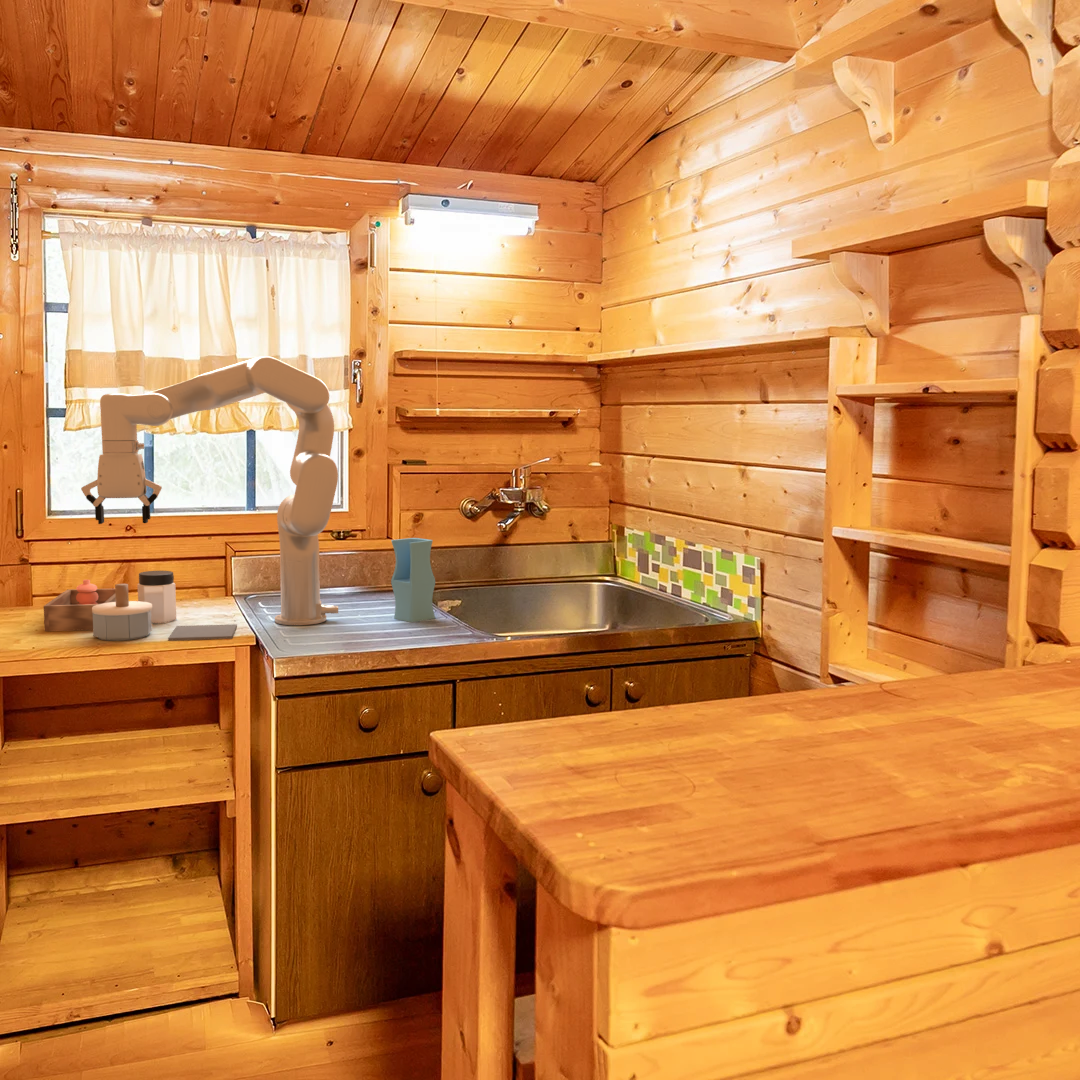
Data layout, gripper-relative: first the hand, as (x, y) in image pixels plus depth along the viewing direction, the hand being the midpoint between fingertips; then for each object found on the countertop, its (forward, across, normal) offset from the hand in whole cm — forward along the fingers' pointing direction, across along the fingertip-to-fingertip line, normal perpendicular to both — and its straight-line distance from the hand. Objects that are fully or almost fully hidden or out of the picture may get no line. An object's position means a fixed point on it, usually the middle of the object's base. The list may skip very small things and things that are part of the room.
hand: (123, 523), depth 252 cm
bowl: (+26, +1, 0) cm, 26 cm away
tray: (+26, +13, -20) cm, 35 cm away
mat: (+26, -17, 0) cm, 31 cm away
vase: (+27, -67, -11) cm, 73 cm away
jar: (+26, -4, -18) cm, 32 cm away
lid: (+20, +1, 0) cm, 20 cm away
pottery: (+27, +14, -18) cm, 35 cm away
